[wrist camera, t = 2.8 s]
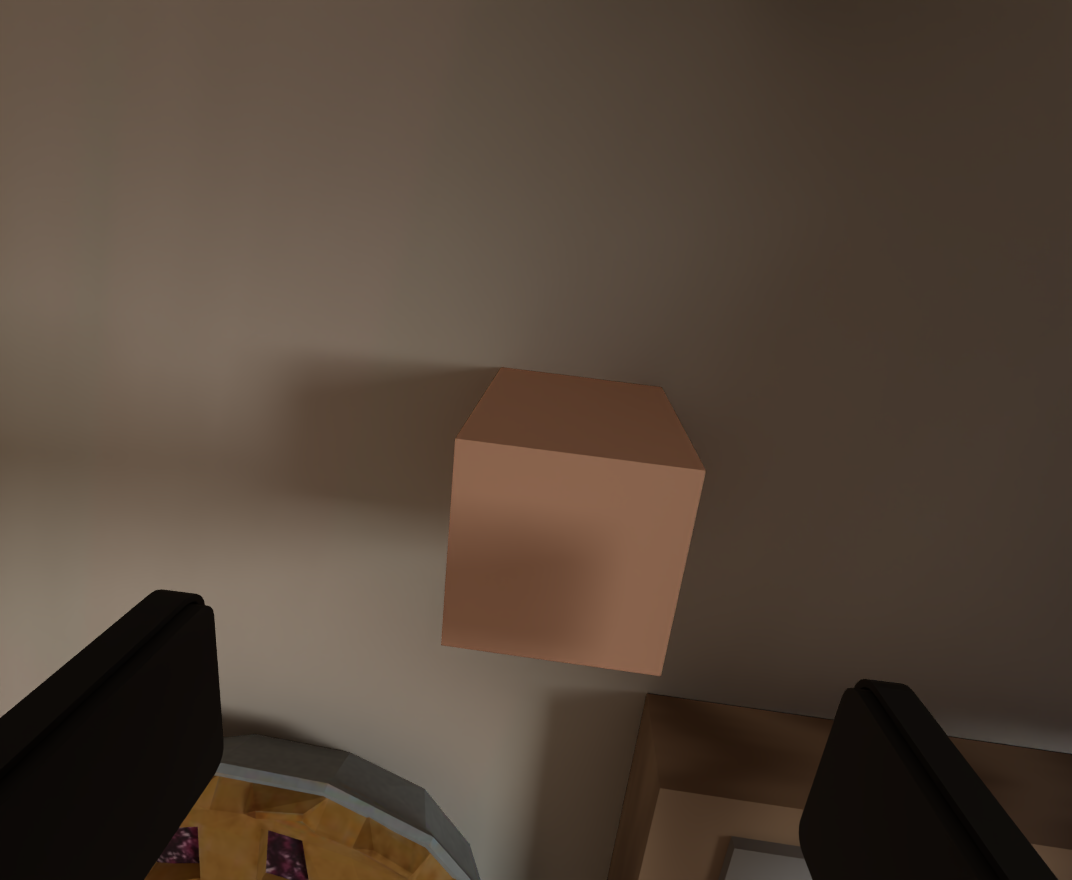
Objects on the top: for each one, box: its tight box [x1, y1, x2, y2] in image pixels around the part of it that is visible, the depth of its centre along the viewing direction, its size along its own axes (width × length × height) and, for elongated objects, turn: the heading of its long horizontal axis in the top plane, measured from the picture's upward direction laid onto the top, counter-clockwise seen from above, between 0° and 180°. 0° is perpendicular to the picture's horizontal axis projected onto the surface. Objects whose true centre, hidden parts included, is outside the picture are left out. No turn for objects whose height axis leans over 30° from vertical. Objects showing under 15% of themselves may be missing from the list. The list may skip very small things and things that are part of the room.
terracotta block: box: [441, 367, 706, 676], centre depth 16 cm, size 5×5×7 cm
